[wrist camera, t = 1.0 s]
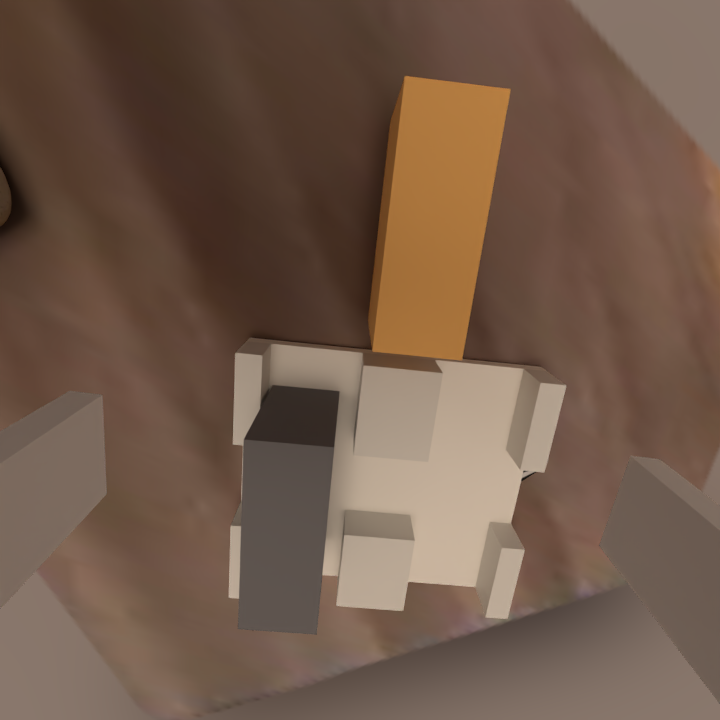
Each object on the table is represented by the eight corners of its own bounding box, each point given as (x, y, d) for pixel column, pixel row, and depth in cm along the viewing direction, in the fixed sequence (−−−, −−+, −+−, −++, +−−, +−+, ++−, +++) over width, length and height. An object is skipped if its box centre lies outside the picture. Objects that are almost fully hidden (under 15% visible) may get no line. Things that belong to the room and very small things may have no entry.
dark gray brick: (272, 384, 29) (243, 439, 22) (339, 390, 30) (334, 447, 22) (265, 535, 33) (237, 629, 25) (325, 540, 33) (316, 634, 25)
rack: (250, 337, 29) (235, 352, 26) (541, 366, 30) (566, 385, 27) (242, 558, 35) (228, 597, 31) (491, 578, 35) (507, 618, 32)
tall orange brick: (390, 121, 26) (405, 75, 18) (465, 130, 26) (510, 89, 18) (367, 319, 29) (372, 351, 22) (434, 326, 30) (461, 360, 22)
